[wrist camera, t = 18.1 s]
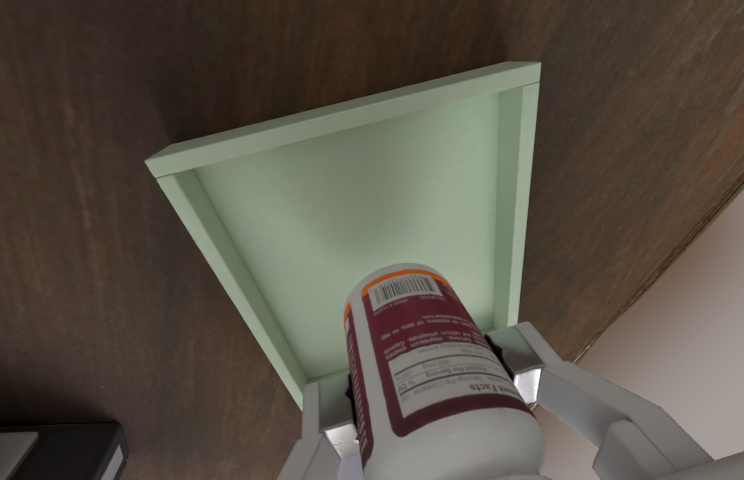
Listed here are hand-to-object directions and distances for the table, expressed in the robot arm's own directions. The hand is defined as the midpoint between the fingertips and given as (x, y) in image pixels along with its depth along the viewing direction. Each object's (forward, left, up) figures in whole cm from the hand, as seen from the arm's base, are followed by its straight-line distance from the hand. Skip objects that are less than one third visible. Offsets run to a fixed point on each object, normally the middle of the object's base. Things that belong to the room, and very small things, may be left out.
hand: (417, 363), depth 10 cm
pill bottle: (0, 0, -3) cm, 3 cm away
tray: (0, 0, -6) cm, 6 cm away
